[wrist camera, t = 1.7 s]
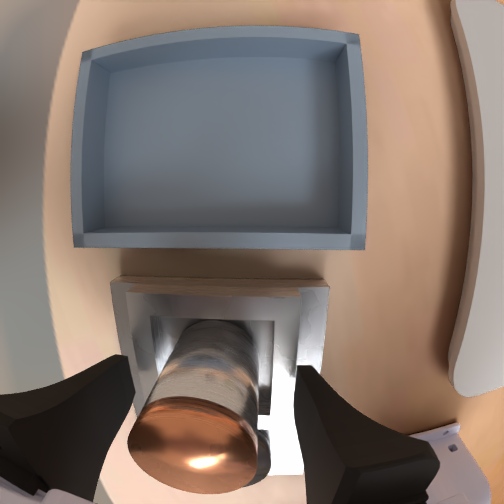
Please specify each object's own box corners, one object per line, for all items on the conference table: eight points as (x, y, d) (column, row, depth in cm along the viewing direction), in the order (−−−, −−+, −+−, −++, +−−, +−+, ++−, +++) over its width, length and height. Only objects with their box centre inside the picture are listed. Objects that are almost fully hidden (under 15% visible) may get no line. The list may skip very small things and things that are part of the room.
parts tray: (344, 56, 12) (358, 34, 9) (347, 239, 13) (364, 249, 11) (106, 68, 12) (82, 52, 10) (100, 238, 14) (73, 247, 11)
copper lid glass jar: (259, 321, 13) (258, 423, 7) (258, 391, 14) (256, 497, 8) (171, 318, 13) (113, 407, 7) (180, 387, 14) (143, 483, 8)
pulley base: (324, 279, 14) (341, 304, 11) (300, 461, 17) (305, 497, 13) (120, 275, 14) (88, 296, 11) (156, 452, 17) (144, 486, 14)
